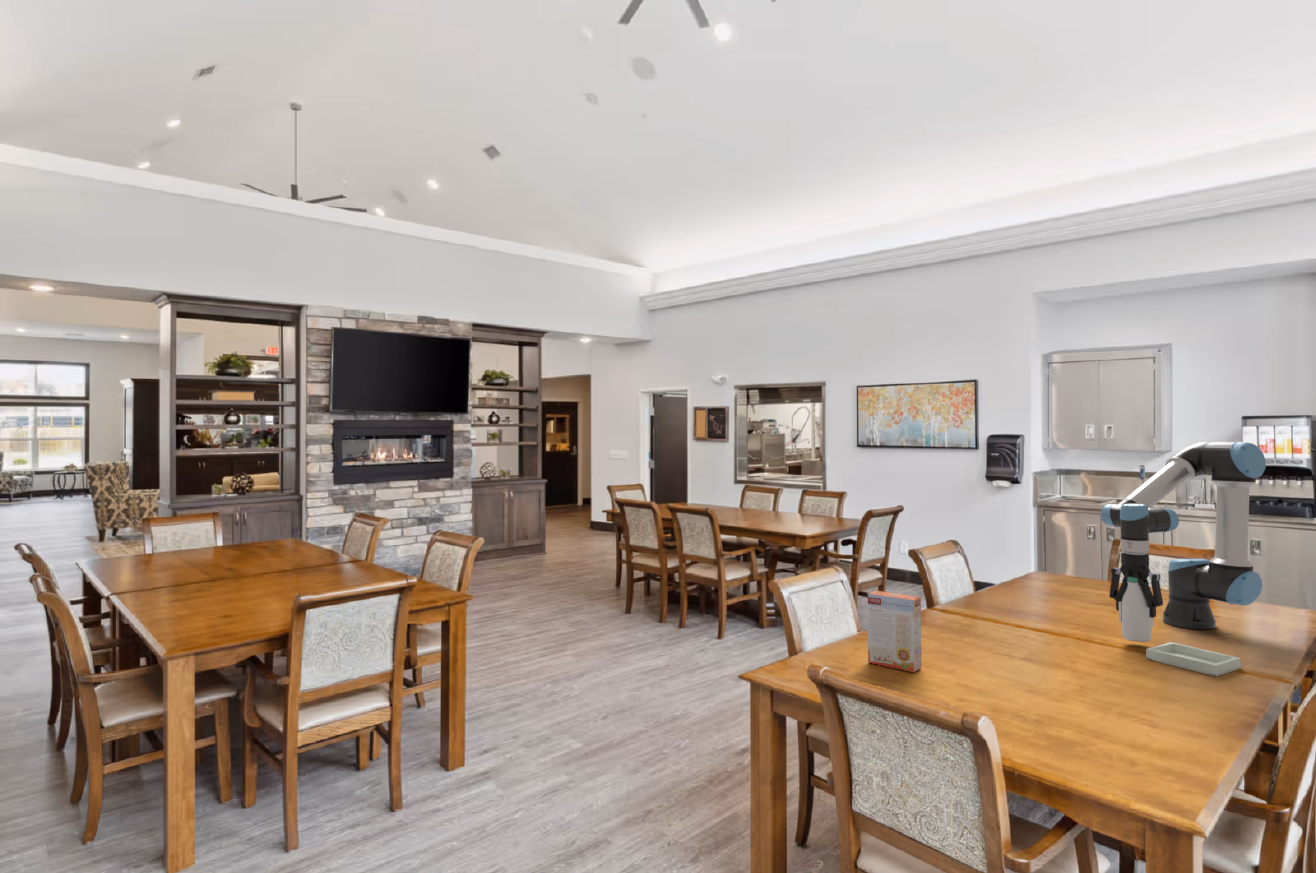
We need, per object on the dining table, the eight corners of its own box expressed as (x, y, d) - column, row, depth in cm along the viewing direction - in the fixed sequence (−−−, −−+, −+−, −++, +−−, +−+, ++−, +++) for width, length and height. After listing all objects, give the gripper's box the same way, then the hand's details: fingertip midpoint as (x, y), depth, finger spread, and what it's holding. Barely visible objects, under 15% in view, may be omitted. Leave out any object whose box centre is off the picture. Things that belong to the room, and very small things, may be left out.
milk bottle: (1156, 642, 224) (1154, 579, 223) (1128, 642, 225) (1127, 578, 225) (1144, 635, 231) (1143, 574, 231) (1117, 635, 233) (1116, 573, 232)
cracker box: (922, 668, 206) (922, 596, 206) (913, 673, 202) (913, 599, 202) (876, 658, 216) (876, 589, 216) (867, 663, 211) (867, 592, 211)
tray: (1171, 651, 222) (1171, 642, 222) (1240, 668, 206) (1240, 657, 206) (1146, 658, 215) (1146, 648, 215) (1216, 676, 199) (1216, 665, 199)
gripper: (1095, 549, 235) (1096, 618, 235) (1163, 558, 217) (1164, 633, 217) (1108, 547, 239) (1109, 615, 239) (1176, 556, 221) (1177, 629, 221)
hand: (1135, 624), depth 228 cm, fingers closed on milk bottle, 7 cm apart
